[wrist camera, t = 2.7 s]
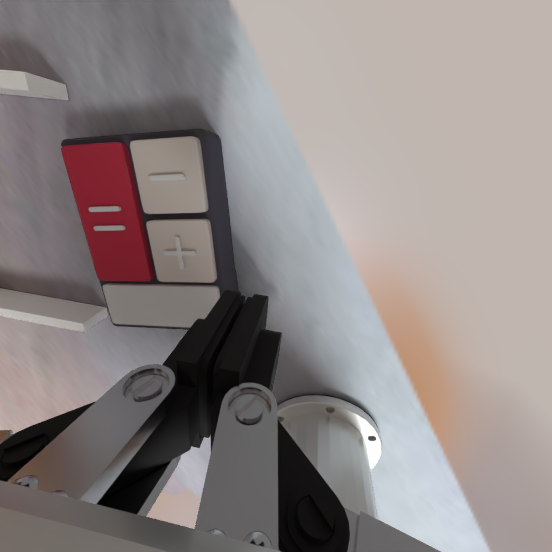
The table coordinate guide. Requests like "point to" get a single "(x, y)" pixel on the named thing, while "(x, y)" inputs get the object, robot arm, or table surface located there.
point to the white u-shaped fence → (31, 304)
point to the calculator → (155, 223)
